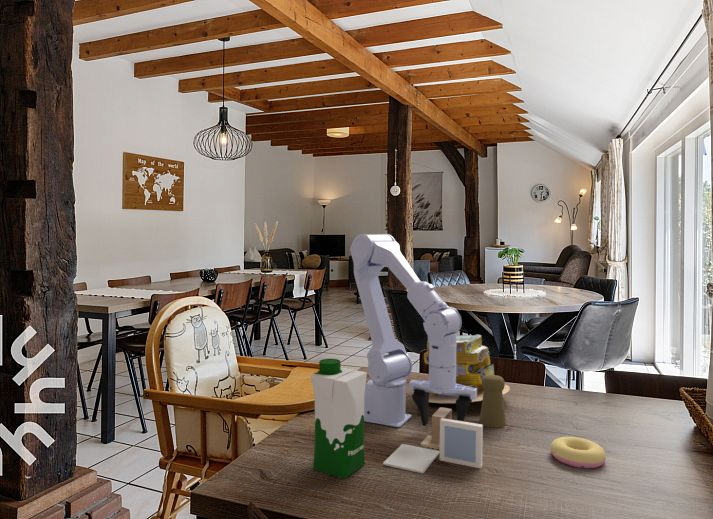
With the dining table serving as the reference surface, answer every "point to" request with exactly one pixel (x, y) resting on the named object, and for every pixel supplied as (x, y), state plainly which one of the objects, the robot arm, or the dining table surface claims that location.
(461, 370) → the stacked yellow boxes plate
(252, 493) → the dining table surface
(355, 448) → the milk carton
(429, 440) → the tan blocky piece
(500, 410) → the cork
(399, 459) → the plate
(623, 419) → the dining table surface
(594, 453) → the donut
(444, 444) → the tile
